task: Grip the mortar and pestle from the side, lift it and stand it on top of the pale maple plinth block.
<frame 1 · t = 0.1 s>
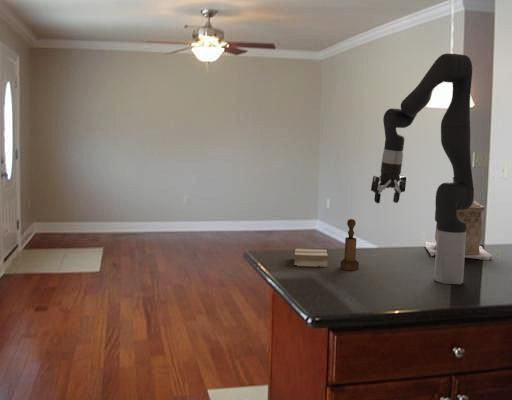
hand: (386, 202, 224), 22 cm above the countertop, tool pointing down, fingers open, 8 cm apart
mortar and pestle: (349, 268, 210), on the countertop
plinth: (310, 262, 218), on the countertop
brown stone tower: (456, 253, 243), on the countertop
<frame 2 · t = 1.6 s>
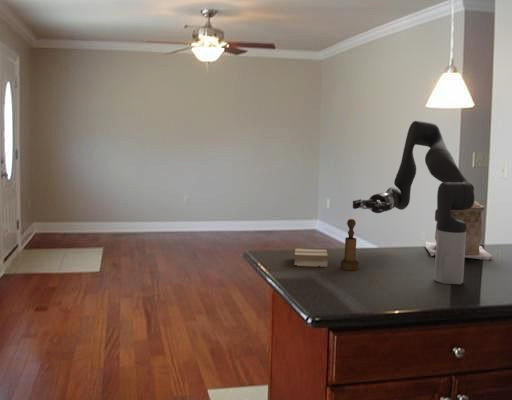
hand: (364, 207, 217), 21 cm above the countertop, tool horizontal, fingers open, 8 cm apart
nothing on the countertop moved.
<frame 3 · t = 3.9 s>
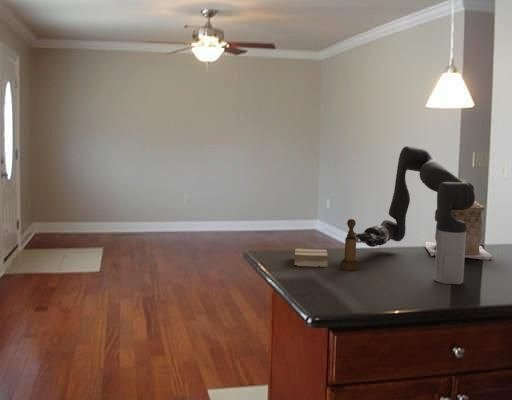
hand: (358, 241, 214), 9 cm above the countertop, tool horizontal, fingers open, 8 cm apart
nothing on the countertop moved.
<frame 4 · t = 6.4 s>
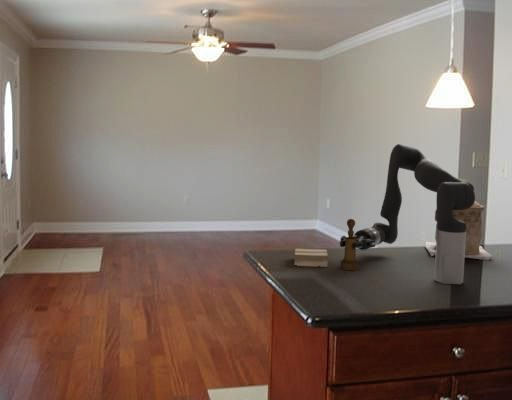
hand: (347, 244, 207), 9 cm above the countertop, tool horizontal, fingers closed on mortar and pestle, 4 cm apart
mortar and pestle: (349, 268, 210), on the countertop, touching gripper
everything else where it was.
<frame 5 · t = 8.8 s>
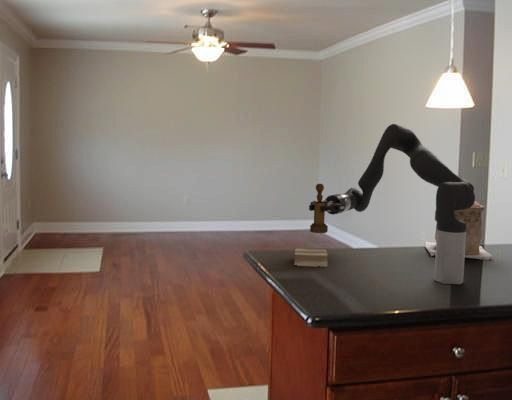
hand: (315, 208, 213), 21 cm above the countertop, tool horizontal, fingers closed on mortar and pestle, 4 cm apart
mortar and pestle: (318, 232, 216), point 12 cm above the countertop, touching gripper
everything else where it was.
when the fingers open (14 cm above the countertop, at t = 11.0 s): mortar and pestle drops 1 cm, resting on plinth.
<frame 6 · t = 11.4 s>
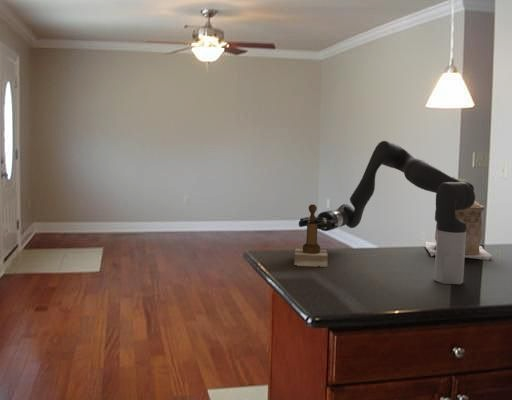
hand: (309, 225, 215), 15 cm above the countertop, tool horizontal, fingers open, 7 cm apart
mortar and pestle: (311, 252, 218), point 4 cm above the countertop, touching plinth
everything else where it was.
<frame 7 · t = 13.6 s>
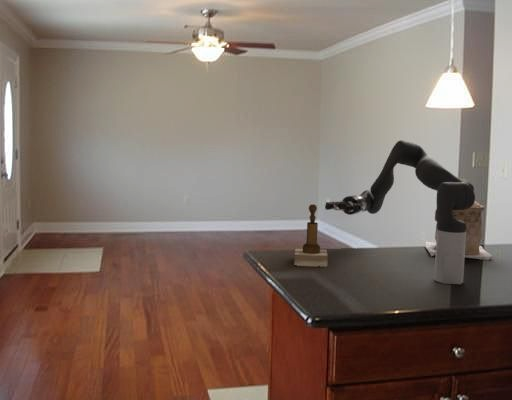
hand: (336, 207, 225), 20 cm above the countertop, tool horizontal, fingers open, 8 cm apart
nothing on the countertop moved.
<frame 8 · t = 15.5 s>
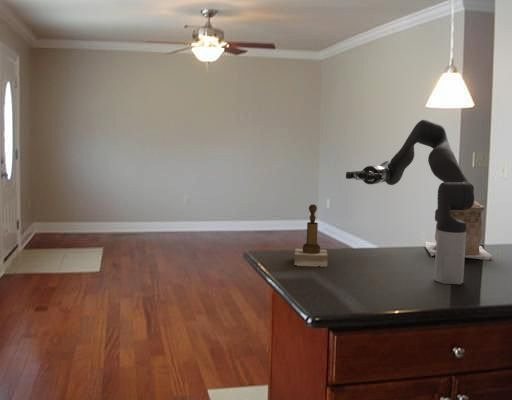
hand: (357, 176, 225), 32 cm above the countertop, tool horizontal, fingers open, 8 cm apart
nothing on the countertop moved.
at the end: mortar and pestle inside the target area on the plinth (0.1 cm from its centre), point 3.8 cm above the plinth's base; mortar and pestle tilted 0°; the gripper is holding nothing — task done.
